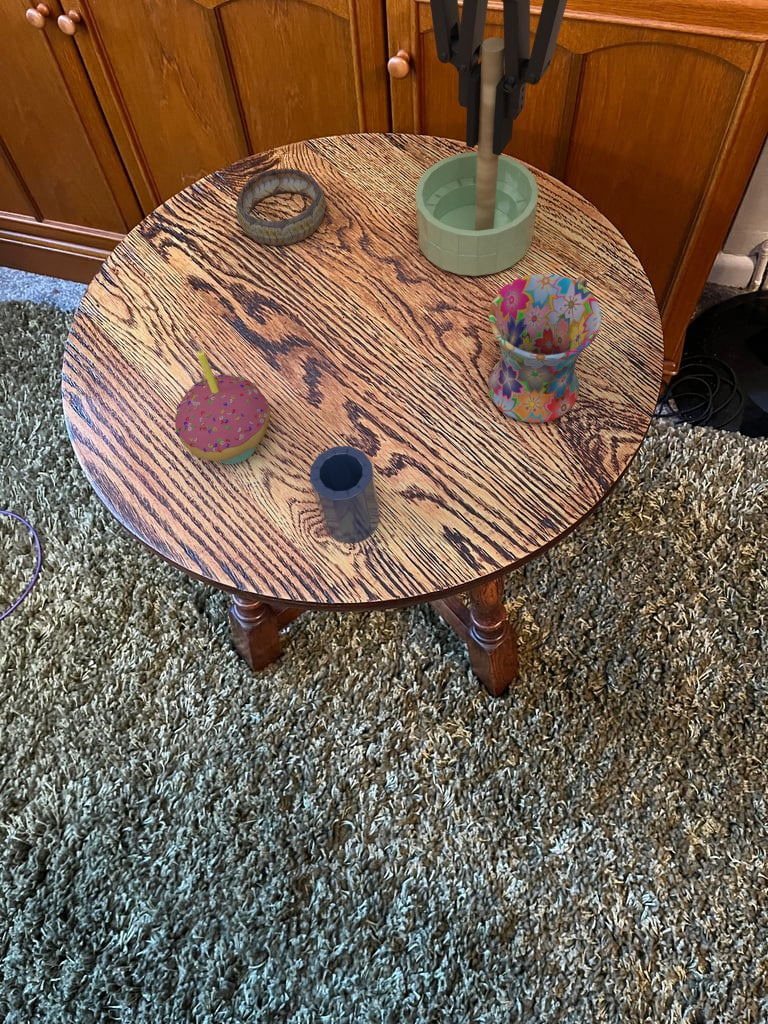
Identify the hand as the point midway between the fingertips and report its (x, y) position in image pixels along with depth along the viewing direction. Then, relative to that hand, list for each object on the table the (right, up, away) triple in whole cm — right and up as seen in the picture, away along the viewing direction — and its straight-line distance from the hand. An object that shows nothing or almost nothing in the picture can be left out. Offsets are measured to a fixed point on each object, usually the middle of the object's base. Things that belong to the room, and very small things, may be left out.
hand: (488, 141), depth 72 cm
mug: (+5, -22, +3) cm, 23 cm away
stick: (+1, -5, +10) cm, 11 cm away
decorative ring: (-21, -1, +16) cm, 26 cm away
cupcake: (-24, -28, +2) cm, 37 cm away
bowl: (0, -5, +12) cm, 13 cm away
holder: (-13, -35, -3) cm, 37 cm away
